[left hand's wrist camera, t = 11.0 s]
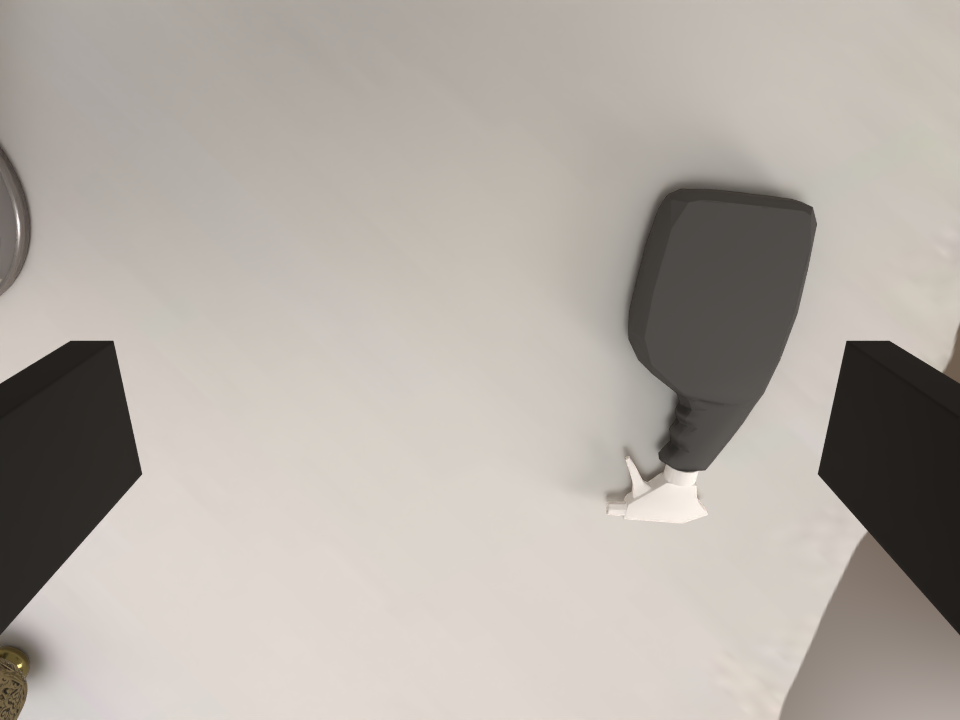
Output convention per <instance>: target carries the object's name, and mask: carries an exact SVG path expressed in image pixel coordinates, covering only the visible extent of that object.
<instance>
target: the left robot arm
mask: <svg viewBox="0 0 960 720" xmlns="http://www.w3.org/2000/svg"><path fill="white" fill-rule="evenodd" d="M29 233H30V229H29V215H28V209H27V204H26V200H25V196H24V193H23V190H22V187H21V184H20V182H19V180H18V177H17V175H16V173H15V171H14V169H13V167H12V165H11V163H10V162H9V160H8V158H7V157H6V155H5V154H4V152H3V151H2V149H1V148H0V295H1V294H3V293H4V292H5V291H6V290H7V289H8V288H9V287H10V285H11V284H12V283H13V282H14V280H15V279H16V277H17V276H18V274H19V272H20V270H21V268H22V266H23V264H24V261H25V258H26V254H27V250H28V245H29ZM141 475H142V471H141V466H140V462H139V457H138V453H137V448H136V443H135V439H134V434H133V429H132V425H131V420H130V415H129V411H128V406H127V401H126V397H125V392H124V388H123V383H122V378H121V374H120V369H119V364H118V360H117V355H116V350H115V346H114V341H70V342H68V343H66V344H65V345H63V346H61V347H60V348H58V349H56V350H55V351H53V352H52V353H50V354H48V355H47V356H45V357H43V358H42V359H40V360H38V361H37V362H35V363H33V364H32V365H30V366H29V367H27V368H25V369H24V370H22V371H20V372H19V373H17V374H15V375H14V376H12V377H10V378H9V379H7V380H6V381H4V382H2V383H1V384H0V635H1V633H2V632H3V631H4V630H5V629H6V628H7V627H8V626H9V624H10V623H11V622H12V621H13V620H14V619H15V618H16V616H17V615H18V614H19V613H20V612H21V611H22V610H23V609H24V607H25V606H26V605H27V604H28V603H29V602H30V601H31V599H32V598H33V597H34V596H35V595H36V594H37V593H38V592H39V590H40V589H41V588H42V587H43V586H44V585H45V584H46V583H47V581H48V580H49V579H50V578H51V577H52V576H53V575H54V573H55V572H56V571H57V570H58V569H59V568H60V567H61V566H62V564H63V563H64V562H65V561H66V560H67V559H68V558H69V556H70V555H71V554H72V553H73V552H74V551H75V550H76V549H77V547H78V546H79V545H80V544H81V543H82V542H83V541H84V539H85V538H86V537H87V536H88V535H89V534H90V533H91V532H92V530H93V529H94V528H95V527H96V526H97V525H98V524H99V522H100V521H101V520H102V519H103V518H104V517H105V516H106V515H107V513H108V512H109V511H110V510H111V509H112V508H113V507H114V505H115V504H116V503H117V502H118V501H119V500H120V499H121V498H122V496H123V495H124V494H125V493H126V492H127V491H128V490H129V488H130V487H131V486H132V485H133V484H134V483H135V482H136V481H137V479H138V478H139V477H140V476H141ZM818 475H819V476H820V477H821V478H822V479H823V481H824V482H825V483H826V484H827V485H828V486H829V487H830V488H831V490H832V491H833V492H834V493H835V494H836V495H837V496H838V498H839V499H840V500H841V501H842V502H843V503H844V504H845V505H846V507H847V508H848V509H849V510H850V511H851V512H852V513H853V515H854V516H855V517H856V518H857V519H858V520H859V521H860V522H861V524H862V525H863V526H864V527H865V528H866V529H867V530H868V532H869V533H870V534H871V535H872V536H873V537H874V538H875V539H876V541H877V542H878V543H879V544H880V545H881V546H882V547H883V549H884V550H885V551H886V552H887V553H888V554H889V555H890V556H891V558H892V559H893V560H894V561H895V562H896V563H897V564H898V566H899V567H900V568H901V569H902V570H903V571H904V572H905V573H906V575H907V576H908V577H909V578H910V579H911V580H912V581H913V583H914V584H915V585H916V586H917V587H918V588H919V589H920V590H921V592H922V593H923V594H924V595H925V596H926V597H927V598H928V599H929V601H930V602H931V603H932V604H933V605H934V606H935V607H936V608H937V610H938V611H939V612H940V613H941V614H942V615H943V616H944V618H945V619H946V620H947V621H948V622H949V623H950V624H951V626H952V627H953V628H954V629H955V630H956V631H957V632H958V633H959V635H960V384H959V383H958V382H956V381H954V380H953V379H951V378H949V377H948V376H946V375H945V374H943V373H941V372H940V371H938V370H936V369H935V368H933V367H931V366H930V365H928V364H927V363H925V362H923V361H922V360H920V359H918V358H917V357H915V356H913V355H912V354H910V353H908V352H907V351H905V350H904V349H902V348H900V347H899V346H897V345H895V344H894V343H892V342H890V341H846V346H845V350H844V355H843V360H842V364H841V369H840V374H839V378H838V383H837V388H836V392H835V397H834V401H833V406H832V411H831V415H830V420H829V425H828V429H827V434H826V439H825V443H824V448H823V453H822V457H821V462H820V466H819V471H818Z"/></svg>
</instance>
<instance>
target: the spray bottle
mask: <svg viewBox="0 0 960 720" xmlns="http://www.w3.org/2000/svg"><path fill="white" fill-rule="evenodd" d="M816 226H817V222H816V218H815V214H814V210H813V207H811V206H809V205H807V204H805V203H802V202H800V201H797V200H793V199H788V198H780V197H771V196H763V195H755V194H747V193H739V192H730V191H722V190H703V189H680V190H677V191H675V192H673V193H670V194H669V195H668V196H667V197H666V198H665V200H664V201H663V203H662V204H661V206H660V207H659V209H658V212H657V215H656V218H655V220H654V223H653V226H652V229H651V232H650V235H649V237H648V240H647V243H646V246H645V250H644V254H643V258H642V262H641V266H640V270H639V274H638V278H637V282H636V286H635V290H634V294H633V298H632V303H631V307H630V314H629V325H628V336H629V341H630V343H631V345H632V347H633V350H634V352H635V354H636V356H637V358H638V360H639V361H640V362H641V363H642V364H643V365H644V366H645V367H646V368H647V369H648V370H649V371H650V372H651V373H652V374H653V375H654V376H656V377H657V378H658V379H659V380H661V381H662V382H663V383H665V384H666V385H667V386H668V387H670V388H671V389H672V390H674V391H675V392H676V393H677V395H678V398H679V400H680V402H679V404H678V406H677V407H676V409H675V412H676V417H677V419H676V420H675V421H674V423H673V424H672V426H671V427H670V429H669V430H670V437H671V441H670V442H669V443H668V444H667V445H666V446H665V447H664V448H663V449H662V450H661V451H660V452H659V459H660V460H661V461H662V462H664V463H665V464H666V466H665V470H664V473H660V474H658V475H657V476H656V477H654V478H653V479H651V480H650V481H648V482H646V481H644V480H643V479H642V477H641V475H640V474H639V472H638V470H637V468H636V466H635V464H634V463H633V461H632V460H631V459H630V457H629V456H626V457H625V459H626V463H627V466H628V469H629V472H630V476H631V479H632V492H630V493H628V494H627V495H626V496H625V498H624V501H608V502H607V504H606V512H607V515H618V516H623V518H624V519H631V520H645V521H658V522H672V523H685V522H688V521H691V520H694V519H697V518H700V517H703V516H706V515H707V511H706V509H705V507H704V505H703V504H702V503H701V502H700V501H699V500H698V499H697V486H696V484H695V481H696V478H697V474H698V471H702V470H706V469H707V468H708V467H709V465H710V464H711V463H712V462H713V461H714V459H715V458H716V457H717V456H718V454H719V453H720V452H721V451H722V449H723V448H724V447H725V446H726V444H727V443H728V442H729V441H730V439H731V438H732V437H733V436H734V434H735V433H736V432H737V430H738V429H739V428H740V426H741V425H742V424H743V423H744V421H745V419H746V418H747V416H748V415H749V413H750V412H751V410H752V409H753V407H754V406H755V404H756V403H757V402H758V400H759V399H760V398H761V396H762V395H763V394H764V392H765V390H766V388H767V386H768V384H769V382H770V379H771V377H772V375H773V373H774V371H775V369H776V367H777V365H778V363H779V361H780V359H781V356H782V354H783V351H784V348H785V346H786V343H787V340H788V337H789V335H790V332H791V329H792V327H793V324H794V321H795V319H796V316H797V313H798V309H799V305H800V301H801V296H802V292H803V288H804V284H805V279H806V275H807V271H808V266H809V261H810V256H811V251H812V246H813V241H814V236H815V231H816Z"/></svg>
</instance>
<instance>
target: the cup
mask: <svg viewBox="0 0 960 720" xmlns="http://www.w3.org/2000/svg"><path fill="white" fill-rule="evenodd" d="M29 668H30V662H29V659H28V657H27V656H26V655H25V654H24V653H23V652H22V651H21V650H19V649H17V648H14V647H9V646H2V647H0V720H17V718H18V716H19V714H20V712H21V710H22V708H23V706H24V703H25V700H26V696H27V682H26V679H25V678H26V676H27V675H28V672H29Z"/></svg>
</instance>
